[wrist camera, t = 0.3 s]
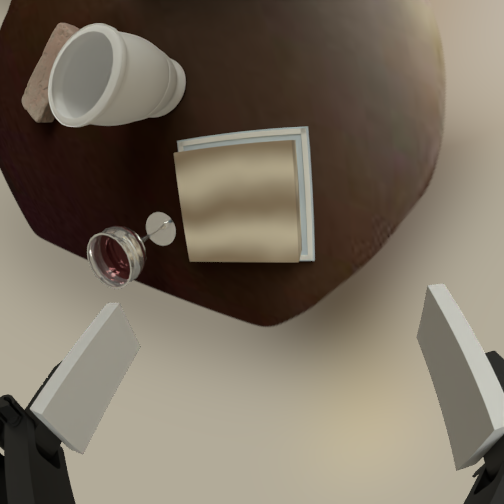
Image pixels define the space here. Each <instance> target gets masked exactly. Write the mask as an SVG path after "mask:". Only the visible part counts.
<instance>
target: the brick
mask: <svg viewBox="0 0 504 504" xmlns="http://www.w3.org/2000/svg"><path fill="white" fill-rule="evenodd" d="M79 30H80V29H78V28H77V27H75V26H72V25H70V24H67V23H60V24H58V25H57V27H56V28H55V30H54V31H53V33H52V35H51V37H50V39H49V41H48V43H47V45H46V47H45V50H44V52H43V55H42V57H41V58H40V60H39V62H38V64H37V66H36V68H35V70H34V72H33V74H32V76H31V78H30V80H29V82H28V84H27V88H26V89H25V93H24V96H23V97H22V104H23V106H24V108H25V110H27V111H28V113H30V115H31V116H32V118H33V119H34V120H35V121H36V122H39V123H40V122H42V123H43V122H45V123H46V122H53V120H54V118H55V116H54V115H53V113H52V111H51V108H50V104H49V99H48V84H49V77H50V73H51V70H52V67H53V64H54V61H55V59H56V57H57V55H58V53H59V52H60V50H61V48H62V47H63V46H64V44H65V43H66V42H67V41H68V39H69V38H70V37H71V36H72V35H74V34H75V33H76V32H77V31H79Z"/></svg>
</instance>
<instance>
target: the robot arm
mask: <svg viewBox="0 0 504 504" xmlns="http://www.w3.org/2000/svg"><path fill="white" fill-rule="evenodd" d="M417 339H418V342H419V345H420V347H421V350H422V353H423V355H424V358H425V361H426V364H427V366H428V369H429V372H430V375H431V378H432V381H433V384H434V387H435V390H436V393H437V397H438V400H439V403H440V407H441V410H442V414H443V417H444V421H445V425H446V428H447V432H448V436H449V440H450V444H451V448H452V453H453V457H454V461H455V466H456V471H457V470H460V469H463V468H466V467H469V466H472V465H474V464H476V463H477V462H478V461H479V460H480V459H481V458H482V457H484V461H485V464H484V465H483V466H482V467H480V468H479V469H478V470H477V471H476V472H475V473H474V475H473V477H476V476H477V475H478V474H479V476H478V477H477V479H476V481H475V483H474V485H473V487H472V489H471V491H470V493H469V495H468V497H467V498H466V500H465V502H464V504H504V359H503V358H502V357H501V356H499V354H498V353H496V352H495V351H491V352H488V353H484V351H483V349H482V347H481V345H480V343H479V341H478V340H477V338H476V336H475V334H474V332H473V330H472V329H471V327H470V325H469V324H468V322H467V320H466V318H465V317H464V315H463V313H462V312H461V310H460V308H459V307H458V305H457V304H456V302H455V300H454V299H453V297H452V296H451V294H450V293H449V291H448V289H447V288H446V286H445V285H444V284H437V285H429V286H427V292H426V297H425V302H424V308H423V312H422V317H421V321H420V325H419V330H418V334H417ZM140 347H141V346H140V344H139V342H138V341H137V338H136V336H135V335H134V332H133V330H132V328H131V326H130V324H129V322H128V320H127V318H126V316H125V314H124V311H123V309H122V307H121V304H120V303H107V304H106V305H105V307H104V308H103V309H102V310H101V312H100V313H99V314H98V315H97V316H96V318H95V319H94V320H93V322H92V323H91V324H90V325H89V327H88V328H87V329H86V330H85V332H84V333H83V334H82V336H81V337H80V338H79V340H78V341H77V342H76V344H75V345H74V346H73V348H72V349H71V350H70V352H69V353H68V354H67V356H66V357H65V358H64V360H63V361H61V362H60V363H59V364H58V365H57V366H55V367H54V368H53V370H52V371H51V373H50V374H49V376H48V378H46V380H45V381H44V382H43V385H41V387H40V388H39V390H38V391H37V393H36V394H35V395H34V397H33V398H32V400H31V401H30V403H29V405H28V406H27V407H26V409H25V410H24V409H23V408H22V407H21V406H20V405H19V404H18V403H17V401H16V400H15V399H14V398H13V397H12V396H11V395H3V396H2V397H0V447H1V448H2V449H3V450H4V455H5V456H3V455H2V454H1V453H0V504H75V501H74V497H73V493H72V489H71V485H70V480H69V476H68V471H67V466H66V461H65V456H64V452H63V449H62V447H61V446H60V444H61V442H63V443H64V444H65V445H66V446H67V447H68V448H70V449H71V450H74V451H76V452H78V453H81V454H84V452H85V449H86V448H87V446H88V443H89V442H90V440H91V438H92V436H93V434H94V432H95V430H96V428H97V426H98V424H99V422H100V420H101V418H102V416H103V414H104V412H105V410H106V409H107V407H108V405H109V403H110V401H111V399H112V397H113V396H114V394H115V392H116V390H117V388H118V386H119V384H120V383H121V381H122V379H123V377H124V375H125V374H126V372H127V370H128V368H129V366H130V365H131V363H132V361H133V359H134V357H135V356H136V354H137V352H138V350H139V349H140Z"/></svg>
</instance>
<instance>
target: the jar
mask: <svg viewBox="0 0 504 504" xmlns="http://www.w3.org/2000/svg"><path fill="white" fill-rule="evenodd" d="M185 86H186V77H185V73H184V70H183V68H182V67H181V65H180V64H179V63H178V62H176V61H175V60H173V59H170V58H169V57H168V56H167V55H166V54H165V53H164V52H162V51H161V50H160V49H159V48H157V47H156V46H155V45H154V44H152V43H151V42H149V41H148V40H146V39H144V38H142V37H139V36H136V35H133V34H129V33H124V32H119V31H117V30H116V29H115V28H113V27H111V26H109V25H107V24H103V23H95V24H91V25H88V26H85V27H83V28H82V29H80V30H79V31H77V32H76V33H75V34H74V35H72V36H71V37H70V38H69V39H68V41H67V42H66V43H65V44H64V46H63V47H62V48H61V50H60V52H59V53H58V55H57V57H56V59H55V61H54V64H53V67H52V70H51V73H50V77H49V84H48V99H49V104H50V108H51V111H52V113H53V115H54V116H55V118H56V119H57V120H58V121H59V122H60V123H61V124H63V125H65V126H68V127H82V126H85V125H88V124H93V125H101V126H115V125H123V124H127V123H131V122H134V121H139V120H143V119H146V118H149V117H152V118H155V117H160V116H163V115H165V114H167V113H169V112H170V111H172V110H173V109H174V108H175V107H176V106H177V105H178V103H179V102H180V100H181V98H182V96H183V94H184V91H185Z"/></svg>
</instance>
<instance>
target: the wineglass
mask: <svg viewBox="0 0 504 504" xmlns="http://www.w3.org/2000/svg"><path fill="white" fill-rule="evenodd" d="M146 230H147V234H148V235H146V236H144V237H142V238H140V237H139V236H138V235H137V234H136V233H135V232H134V231H133V230H131V229H129V228H128V227H123V226H112V227H109V228H106V229H105V230H104V231H103V232H101V233H99V234H95V235H94V236H93V237H92V238H91V239H90V241H89V243H88V247H87V257H88V262H89V264H90V267H91V270H92V271H93V273H94V274H95V276H96V277H97V278H98V279H99V280H100V281H101V282H102V283H103V284H105V285H106V286H108V287H110V288H114V289H119V288H123V287H125V286H126V285H127V284H128V282H130V281H132V280H134V279H136V278H137V277H138V276H139V275H140V273H141V272H142V270H143V269H144V266H145V262H146V250H145V247H144V244H143V242H145V241H146V240H148V239H149V238H150V239H151V240H152V241H153V242H154V243H156V244H158V245H162V246H165V245H168V244H170V243H172V241H173V240H174V238H175V235H176V228H175V225H174V223H173V221H172V219H171V218H170V217H169V216H168V215H166V214H164V213H162V212H156V213H153V214H151V215H150V216H149V218H148V219H147V222H146Z"/></svg>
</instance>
